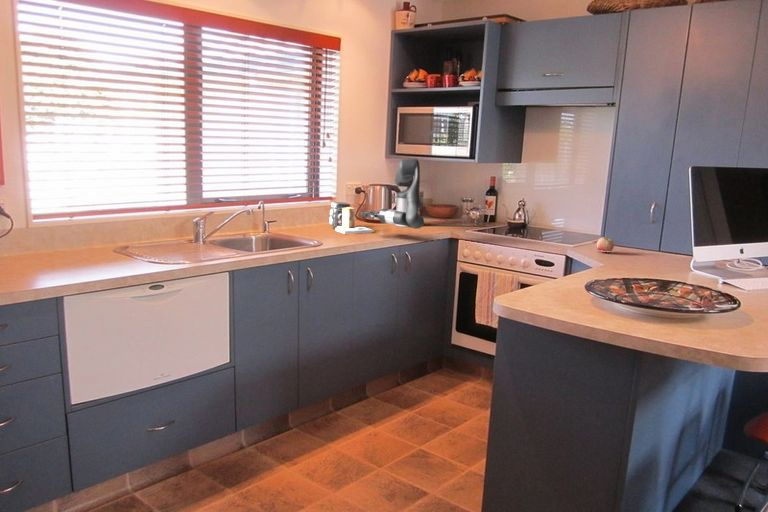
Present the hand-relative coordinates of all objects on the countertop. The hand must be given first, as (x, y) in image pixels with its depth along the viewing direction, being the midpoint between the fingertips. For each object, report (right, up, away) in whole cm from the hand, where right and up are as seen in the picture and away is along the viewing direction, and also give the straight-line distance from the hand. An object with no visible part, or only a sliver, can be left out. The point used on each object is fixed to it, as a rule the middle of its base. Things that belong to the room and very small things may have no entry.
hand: (365, 212), depth 336 cm
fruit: (+123, -22, -22) cm, 127 cm away
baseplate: (-7, -10, +10) cm, 16 cm away
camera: (-16, -8, +19) cm, 26 cm away
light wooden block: (-10, -9, +8) cm, 15 cm away
